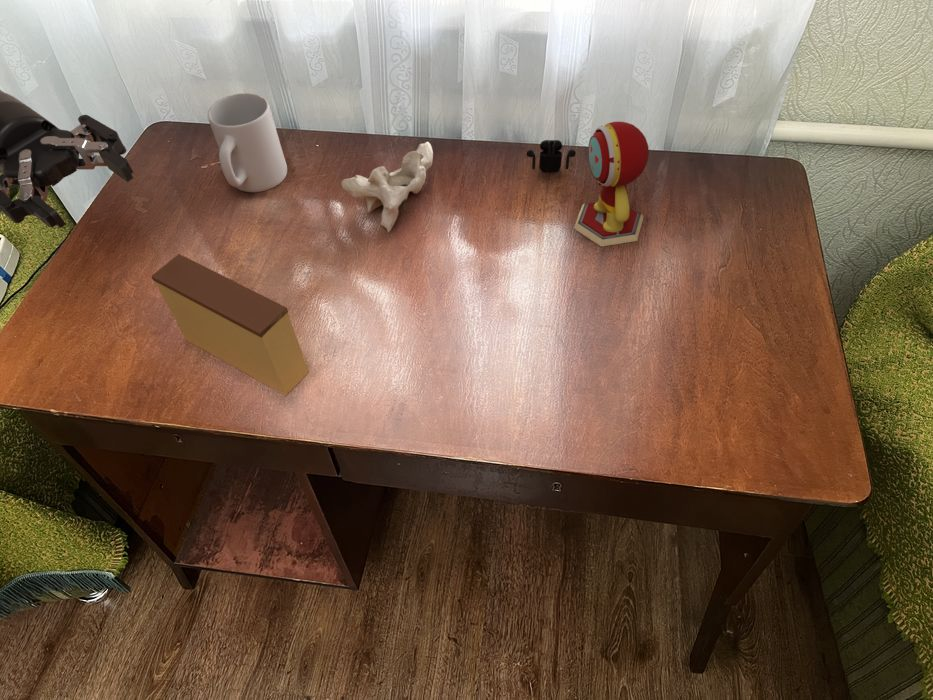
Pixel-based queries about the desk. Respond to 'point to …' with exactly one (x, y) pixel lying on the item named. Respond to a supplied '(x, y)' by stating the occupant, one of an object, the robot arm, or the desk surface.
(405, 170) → the decorative object
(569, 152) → the wireless earbuds
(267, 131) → the mug
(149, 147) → the desk surface
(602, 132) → the figurine
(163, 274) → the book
